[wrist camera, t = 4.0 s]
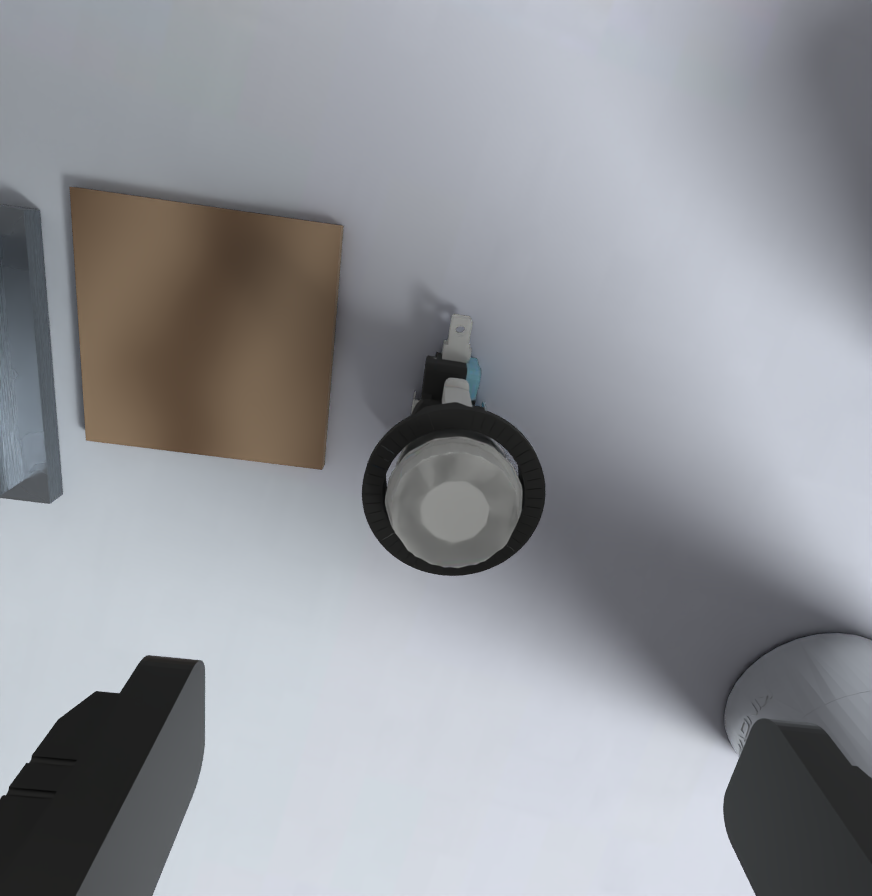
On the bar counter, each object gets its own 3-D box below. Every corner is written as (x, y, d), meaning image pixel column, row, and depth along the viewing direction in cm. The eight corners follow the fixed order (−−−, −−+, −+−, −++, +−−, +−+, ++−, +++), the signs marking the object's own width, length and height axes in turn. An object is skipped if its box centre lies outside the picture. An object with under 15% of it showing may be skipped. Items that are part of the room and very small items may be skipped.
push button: (397, 302, 25) (376, 355, 16) (527, 323, 25) (583, 387, 16) (377, 455, 27) (348, 581, 18) (496, 472, 28) (529, 605, 18)
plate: (343, 225, 24) (341, 225, 23) (324, 464, 27) (322, 469, 27) (78, 187, 23) (69, 186, 23) (93, 435, 27) (85, 440, 26)
